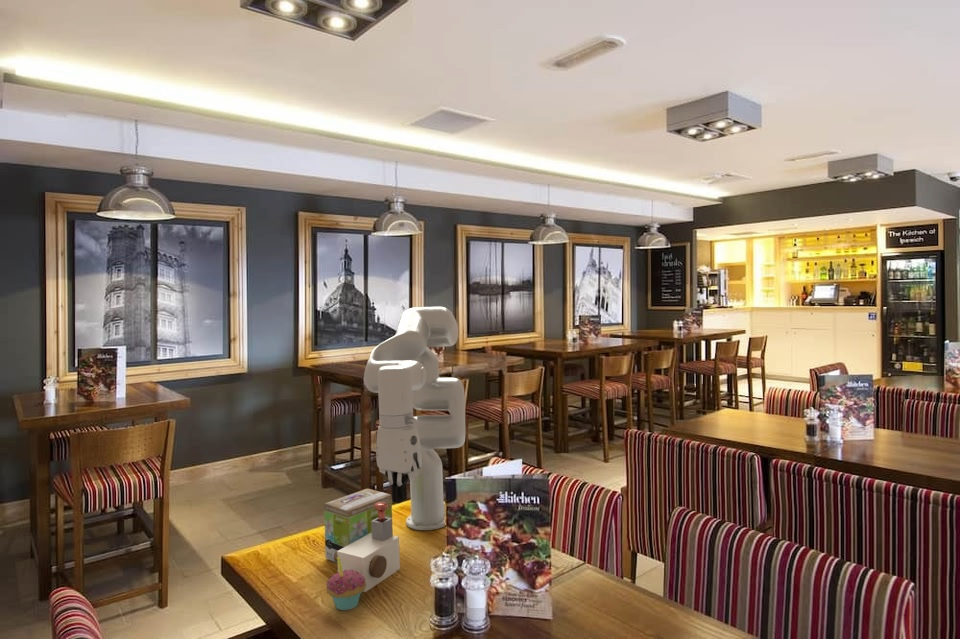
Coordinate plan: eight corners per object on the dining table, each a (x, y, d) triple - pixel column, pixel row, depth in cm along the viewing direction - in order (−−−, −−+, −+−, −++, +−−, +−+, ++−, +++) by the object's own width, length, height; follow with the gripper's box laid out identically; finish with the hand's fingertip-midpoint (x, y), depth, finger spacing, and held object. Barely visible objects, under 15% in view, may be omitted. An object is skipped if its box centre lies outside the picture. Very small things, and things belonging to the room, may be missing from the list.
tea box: (350, 569, 152) (348, 510, 151) (324, 559, 158) (322, 502, 157) (394, 547, 164) (392, 493, 163) (368, 539, 170) (366, 486, 169)
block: (374, 562, 155) (372, 514, 154) (400, 568, 151) (398, 519, 150) (338, 584, 144) (336, 532, 143) (364, 592, 140) (362, 538, 139)
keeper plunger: (381, 522, 153) (380, 501, 152) (391, 524, 151) (390, 503, 151) (372, 526, 150) (371, 505, 150) (382, 529, 148) (381, 507, 148)
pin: (387, 572, 145) (386, 552, 144) (373, 581, 140) (372, 561, 140) (344, 561, 151) (344, 542, 151) (330, 569, 147) (330, 550, 147)
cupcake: (347, 618, 129) (344, 562, 128) (318, 608, 133) (315, 554, 133) (374, 600, 136) (372, 547, 135) (346, 591, 141) (344, 540, 140)
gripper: (433, 420, 137) (436, 501, 138) (382, 414, 145) (386, 490, 146) (411, 427, 130) (414, 512, 131) (360, 420, 139) (363, 500, 140)
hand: (399, 500), depth 139 cm, fingers closed
